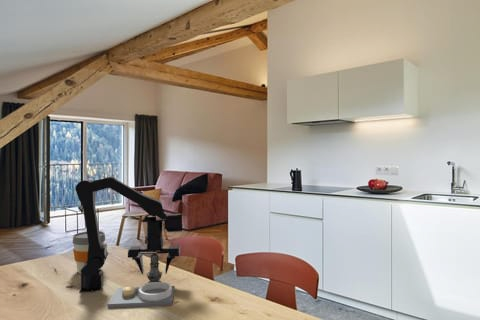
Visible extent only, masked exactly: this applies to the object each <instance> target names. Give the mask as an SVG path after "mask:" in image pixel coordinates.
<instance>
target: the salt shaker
mask: <svg viewBox="0 0 480 320" xmlns="http://www.w3.org/2000/svg"><path fill="white" fill-rule="evenodd" d="M149 266H150V270H149V272H147V273H146V276H147V279H148V280H149V281H148V282H147V283H146V284H148V283H152V282H162V281H161V278H162V275H163V271H160V268H159V267H160V262H159V254H150V263H149Z"/></svg>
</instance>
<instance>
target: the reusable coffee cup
mask: <svg viewBox="0 0 480 320" xmlns="http://www.w3.org/2000/svg"><path fill="white" fill-rule="evenodd" d="M99 233H100V240H101V242H102V244H103V245H104V244H105V242H106V235H105V232H104V231H100V230H99ZM72 244H73V249H72V250H73V256H74V257H73V258H74V261H75V263H76V270H77V273H78V274H81V269H82V267H83V266H84V264H85V262H86V261H87V255H88V246H89V243H88V237H87V231H82V232H78V233H75V234H73V236H72ZM99 270H102V267H101V268H100V269H99Z"/></svg>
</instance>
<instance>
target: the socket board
mask: <svg viewBox="0 0 480 320" xmlns="http://www.w3.org/2000/svg"><path fill="white" fill-rule="evenodd" d="M147 283H148V282H147ZM147 283H145V284H143V285H141V286H134V287H133V286H126V287H117V288H116V290H115V291H114V293H113V294H112V297H111V299H110V300H109V301H108V303H107V308H109V309H111V308H114V309H115V308H133V307H134V308H135V307H137V308H138V307H157V306H172V305H173V299H174V296H175V295H174V294H175V290H176V289H175V288H176V286H175V285H171V284H170V283H169V282H163V281H161V282H152V283H148V284H147Z"/></svg>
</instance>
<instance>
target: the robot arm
mask: <svg viewBox="0 0 480 320" xmlns="http://www.w3.org/2000/svg"><path fill="white" fill-rule="evenodd" d="M106 189H111V190H112V191H114V192H115V193H116V194H119V195H121V196H123V197H125V198H126V199H128V200H130V201H132V202H133V203H135V204H137V205H138V206H139V207H140V208H142V210H143V211H144V212H146V213H147V214H145V215H144V217H143V218H142V219H141V222H142V223H146V235H145V237H144V238H145V239H144V244H145V245H146V248H142V246H141V245H134V246H133V245H132V246H130V248H129V249H128V250H127V258H131V259H132V260H133V261H135V264H137V266H138V268H139V271H140V274H141V275H144V270H145V269H144V262H143V257H144V256H143V255H152V254H157V255H160V254H167V257H166V262H165V263H166V264H165V272H164V273H165V274H167V273H168V270H169V268H170V264H171V262H172V260H174V259H176V257H180V253H181V246H180V245H177V244H176V245H175V244H174V245H172V244H171V245H168V247H167V248H165V247H164V238H163V229H164V231H166V233H179V232H183V220H182V219H183V218H182V213H175V214H167V212H166V211H165V210H164V207H163V203H162V201H161V200H159V199H158V198H154V197H152V196H150V195H149V196H148V195H146V194H143V193H141V192H139V191H138V190H136V189H134V188H133V187H131V186H128V185H127V184H125V183H123V182H122V181H120V180H118V179H117V178H116V177H114V176H110V175H109V176H107V177H105V178H100V179H95V180H92V179H87V178H86V179H83V180H80V181H79V182H78V183H77V184H76V186H75V192H76V193H75V194H76V195H77V198H78V200H79V203H80V204H81V206H82V210H83V217H84V225H85V230H86V231H85V232H87V237H88V243H89V246H88V255H87V261H86V262H85V264H84V266H83V267H82V269H81V273H80V288H79V290H78V291H79V293H81V292H85V293H86V292H99V290H100V289H101V288H102V287H103V286H104V274H103V271H102V268H103V266H104V265H105V262H106V261H107V259H108V256H109V252H108V244H107V243H104V245H103V244H102V242H101V240H100V233H99V231H100V230H99V229H100V228H99V222H98V221H99V220H98V216H97V210H96V197H97V196H96V195H97V192H99V191H102V190H106ZM148 215H149V216H148ZM100 268H101V269H100ZM99 269H100V270H99Z"/></svg>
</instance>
